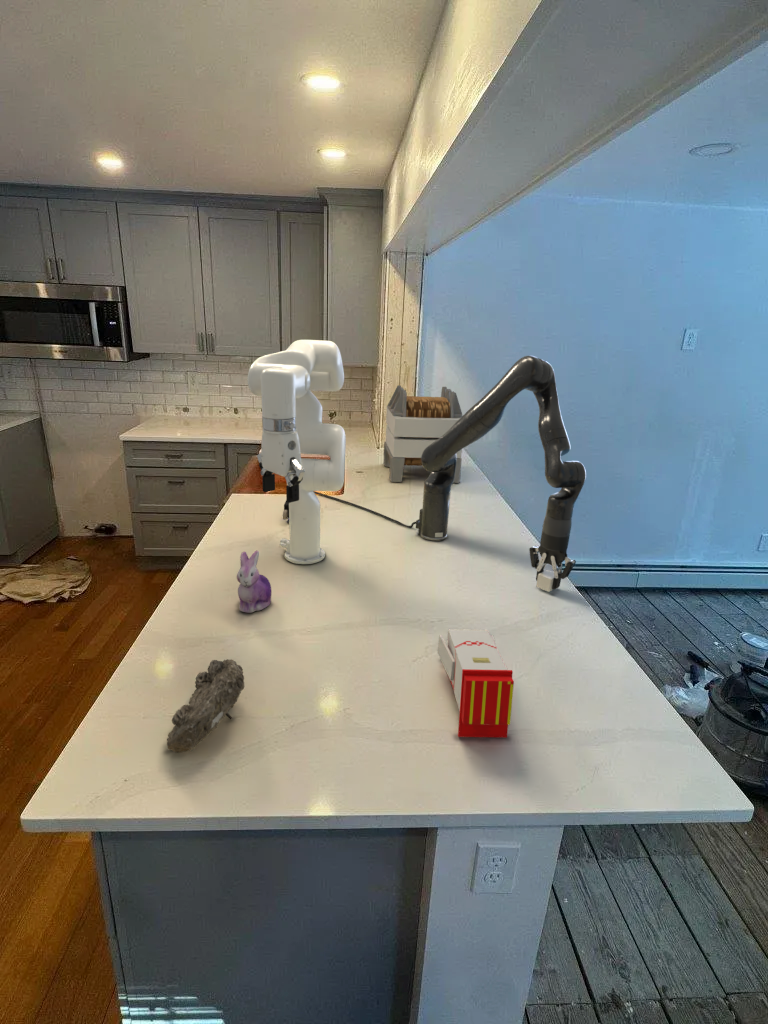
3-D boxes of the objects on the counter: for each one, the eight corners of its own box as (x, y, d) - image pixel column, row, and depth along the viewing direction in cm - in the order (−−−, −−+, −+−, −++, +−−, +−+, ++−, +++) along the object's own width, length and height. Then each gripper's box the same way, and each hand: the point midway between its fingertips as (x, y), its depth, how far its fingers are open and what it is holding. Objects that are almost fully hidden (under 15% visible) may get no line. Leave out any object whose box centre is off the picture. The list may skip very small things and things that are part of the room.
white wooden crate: (382, 463, 289) (386, 382, 275) (445, 464, 293) (451, 384, 279) (390, 482, 257) (394, 392, 243) (460, 483, 261) (468, 394, 247)
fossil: (192, 660, 117) (244, 628, 112) (224, 691, 120) (276, 661, 115) (142, 746, 98) (202, 712, 93) (182, 779, 101) (242, 748, 96)
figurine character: (300, 529, 203) (305, 510, 217) (300, 510, 200) (305, 492, 213) (282, 528, 203) (287, 510, 216) (281, 509, 200) (287, 492, 213)
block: (557, 587, 164) (559, 574, 163) (549, 592, 161) (551, 579, 160) (544, 582, 167) (546, 569, 166) (536, 586, 164) (538, 574, 163)
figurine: (241, 617, 142) (239, 563, 137) (232, 599, 151) (229, 547, 146) (278, 610, 146) (277, 557, 141) (266, 592, 155) (265, 542, 150)
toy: (488, 613, 130) (523, 677, 101) (484, 667, 133) (517, 744, 104) (435, 612, 130) (455, 676, 101) (432, 666, 133) (451, 743, 103)
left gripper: (316, 429, 125) (315, 502, 131) (271, 416, 137) (273, 484, 143) (287, 433, 120) (289, 509, 126) (244, 419, 132) (247, 490, 137)
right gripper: (586, 535, 156) (576, 591, 162) (540, 520, 165) (532, 573, 171) (573, 542, 151) (562, 599, 157) (526, 526, 160) (518, 580, 166)
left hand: (280, 496), depth 134 cm, fingers open, 9 cm apart
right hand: (547, 585), depth 164 cm, fingers closed on block, 4 cm apart
